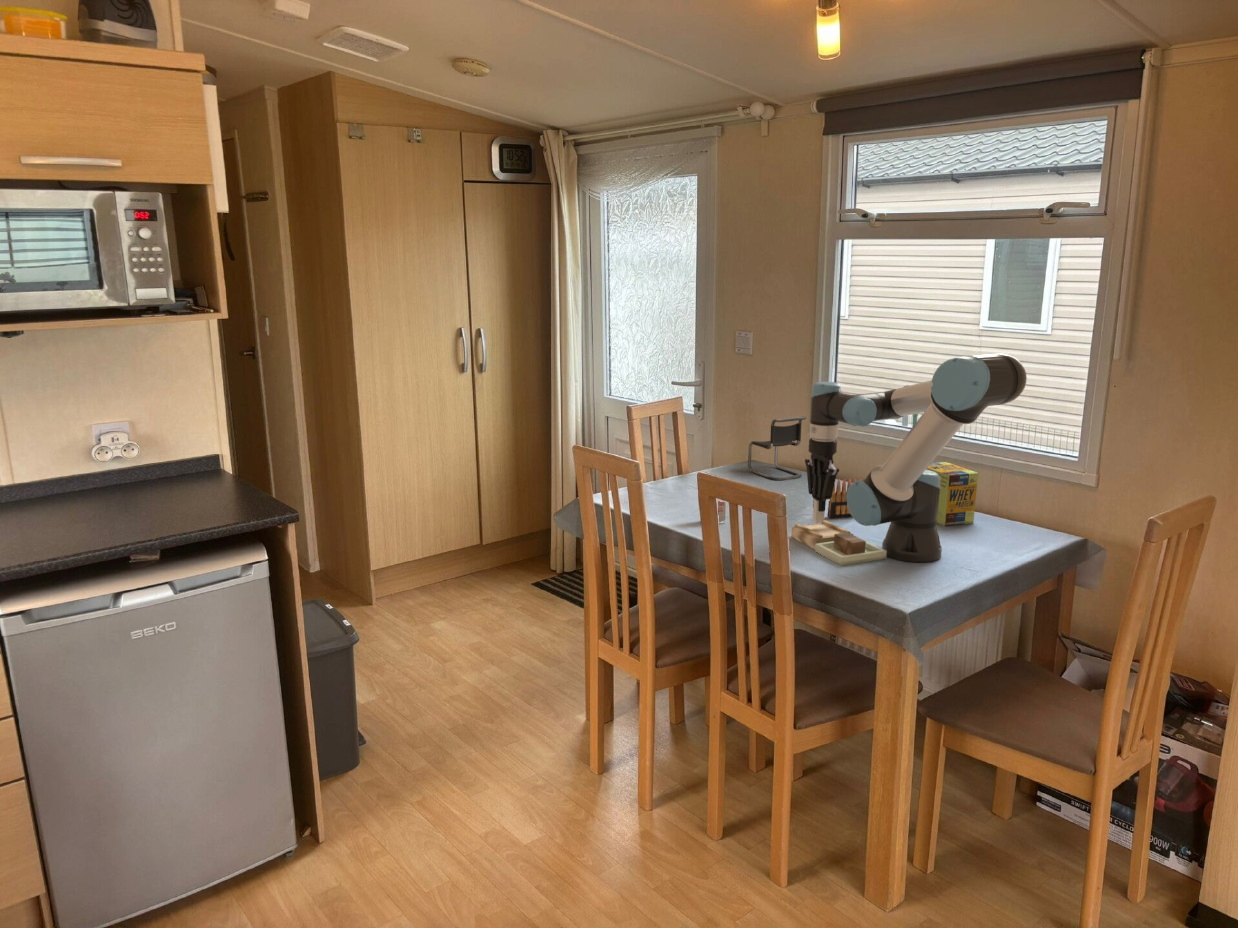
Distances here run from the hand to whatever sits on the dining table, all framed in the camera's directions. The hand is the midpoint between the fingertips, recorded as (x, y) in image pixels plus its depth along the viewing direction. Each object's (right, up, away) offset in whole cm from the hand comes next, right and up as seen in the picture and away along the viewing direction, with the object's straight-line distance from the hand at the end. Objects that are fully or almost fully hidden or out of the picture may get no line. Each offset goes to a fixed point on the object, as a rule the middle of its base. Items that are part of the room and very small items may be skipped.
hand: (818, 521), depth 253 cm
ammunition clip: (+13, 0, +22) cm, 26 cm away
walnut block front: (+6, -5, -13) cm, 15 cm away
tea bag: (-28, -2, +16) cm, 32 cm away
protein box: (+42, 0, +21) cm, 47 cm away
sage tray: (+6, -8, -12) cm, 16 cm away
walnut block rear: (+5, -7, -10) cm, 13 cm away
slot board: (+1, -5, -1) cm, 5 cm away
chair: (+1, +12, +74) cm, 75 cm away
